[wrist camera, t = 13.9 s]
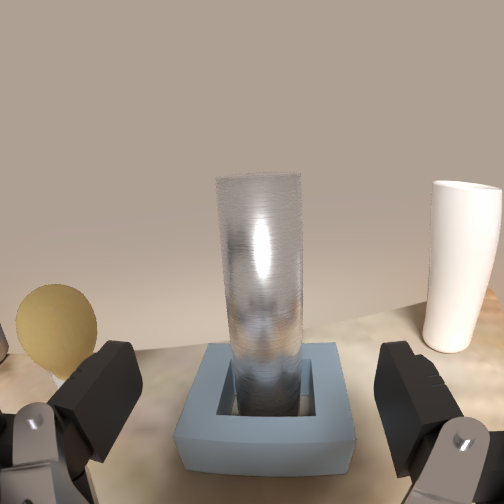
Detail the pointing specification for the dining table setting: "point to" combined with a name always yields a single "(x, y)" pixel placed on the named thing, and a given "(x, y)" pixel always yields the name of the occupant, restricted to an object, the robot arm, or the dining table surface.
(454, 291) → the drinking glass
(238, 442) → the blue square frame
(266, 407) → the steel pin
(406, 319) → the dining table surface
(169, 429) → the dining table surface
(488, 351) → the dining table surface
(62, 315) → the light bulb
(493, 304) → the dining table surface
